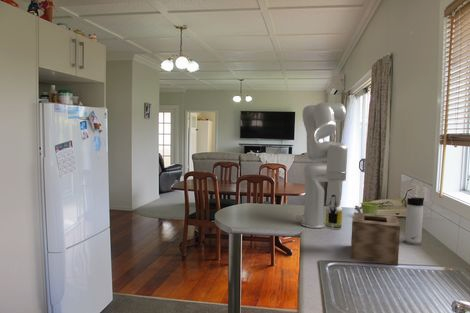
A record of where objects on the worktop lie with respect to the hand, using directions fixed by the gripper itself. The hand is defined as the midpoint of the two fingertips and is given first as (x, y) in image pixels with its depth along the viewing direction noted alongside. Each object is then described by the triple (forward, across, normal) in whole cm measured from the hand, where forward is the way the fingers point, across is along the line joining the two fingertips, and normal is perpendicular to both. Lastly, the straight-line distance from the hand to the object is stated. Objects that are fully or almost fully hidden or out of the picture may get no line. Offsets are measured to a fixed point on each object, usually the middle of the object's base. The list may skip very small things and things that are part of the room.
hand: (333, 220), depth 138 cm
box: (+12, 0, +16) cm, 19 cm away
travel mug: (+13, -24, +32) cm, 41 cm away
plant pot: (+14, -60, +14) cm, 63 cm away
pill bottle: (+3, 0, 0) cm, 3 cm away
